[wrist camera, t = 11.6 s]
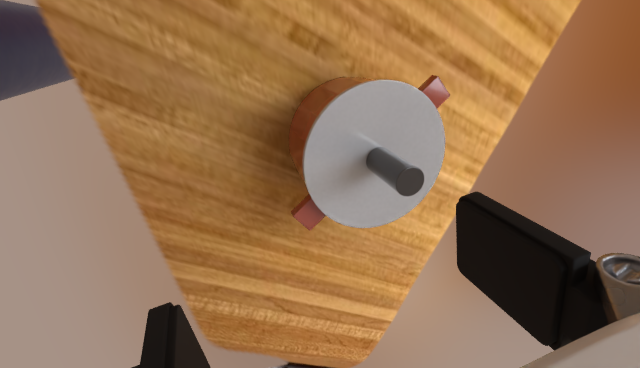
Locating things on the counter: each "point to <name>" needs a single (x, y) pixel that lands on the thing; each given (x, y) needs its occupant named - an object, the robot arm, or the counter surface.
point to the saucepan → (307, 115)
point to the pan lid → (373, 153)
